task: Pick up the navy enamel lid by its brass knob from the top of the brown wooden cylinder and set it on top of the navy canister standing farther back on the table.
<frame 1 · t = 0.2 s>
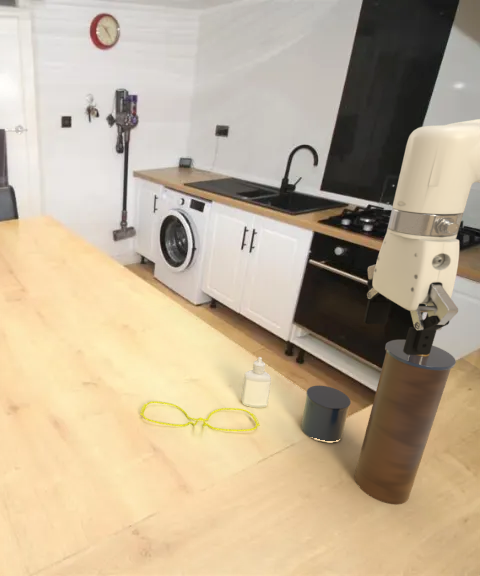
hand: (393, 337, 61), 30 cm above the table, tool pointing down, fingers open, 9 cm apart
glasses: (198, 423, 89), on the table
lid: (418, 355, 63), point 26 cm above the table, touching brown wooden cylinder
eye dropper bottle: (253, 404, 94), on the table
brown wooden cylinder: (380, 485, 72), on the table
canister: (321, 430, 85), on the table
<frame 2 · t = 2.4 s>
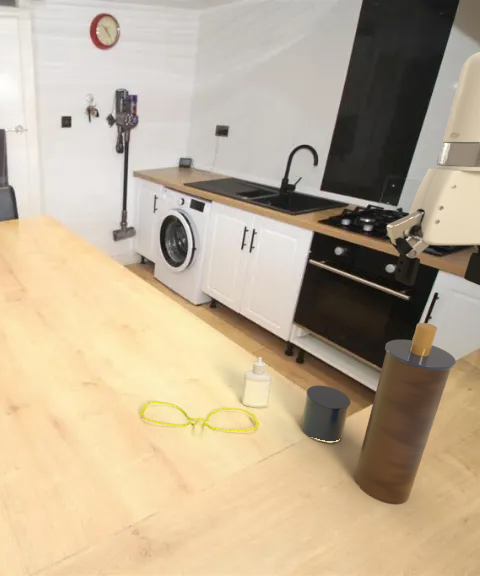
hand: (438, 282, 59), 38 cm above the table, tool pointing down, fingers open, 9 cm apart
nothing on the table moved.
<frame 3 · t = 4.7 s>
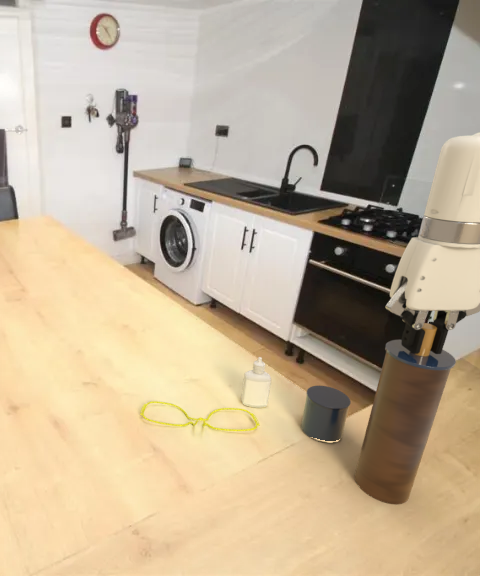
hand: (420, 348, 62), 27 cm above the table, tool pointing down, fingers closed on lid, 2 cm apart
lid: (418, 355, 63), point 26 cm above the table, touching gripper, brown wooden cylinder
everything else where it was.
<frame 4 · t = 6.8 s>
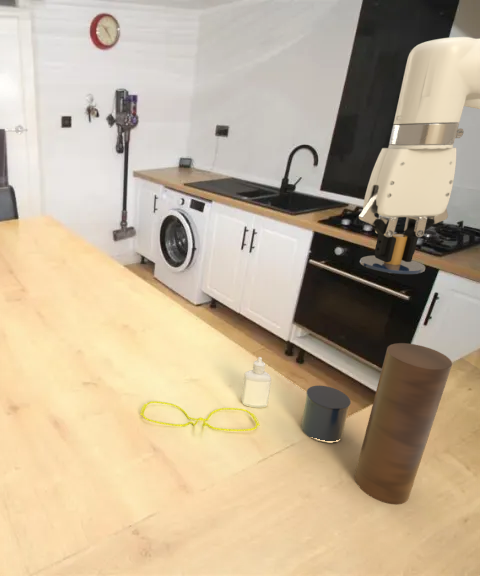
hand: (392, 258, 66), 39 cm above the table, tool pointing down, fingers closed on lid, 2 cm apart
lid: (391, 265, 66), point 38 cm above the table, touching gripper
everything else where it was.
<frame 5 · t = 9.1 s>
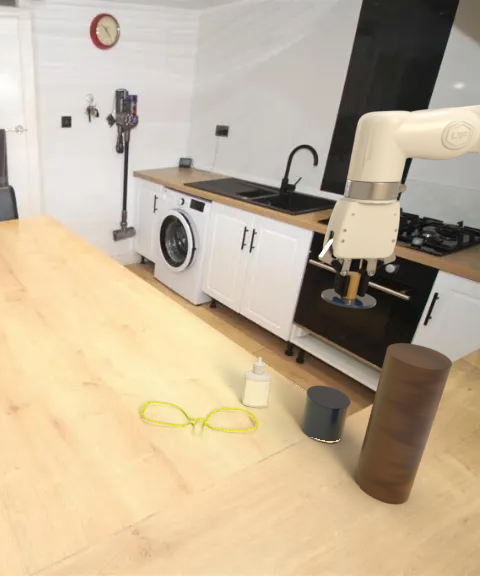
hand: (349, 293, 75), 31 cm above the table, tool pointing down, fingers closed on lid, 2 cm apart
lid: (347, 299, 75), point 30 cm above the table, touching gripper
everything else where it was.
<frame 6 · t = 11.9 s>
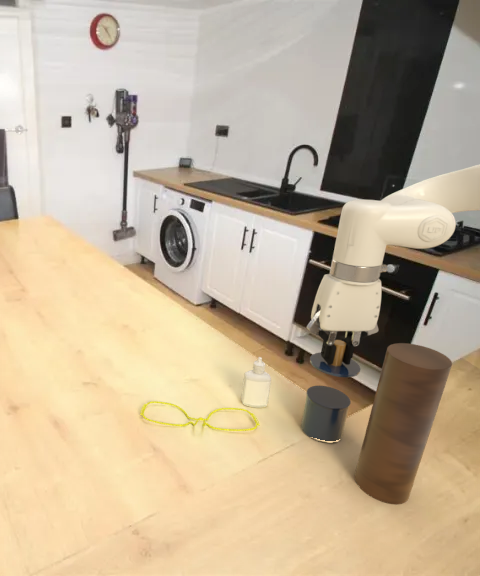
hand: (335, 360, 79), 17 cm above the table, tool pointing down, fingers closed on lid, 2 cm apart
lid: (334, 365, 80), point 16 cm above the table, touching gripper
everything else where it was.
when the fingers open (10 cm above the table, at t = 13.8 s): lid stays where it is, resting on canister.
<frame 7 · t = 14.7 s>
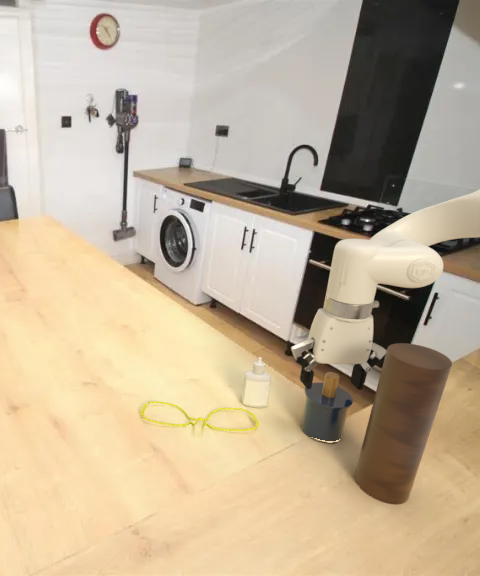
hand: (330, 385, 81), 11 cm above the table, tool pointing down, fingers open, 9 cm apart
lid: (328, 396, 82), point 8 cm above the table, touching canister
everything else where it was.
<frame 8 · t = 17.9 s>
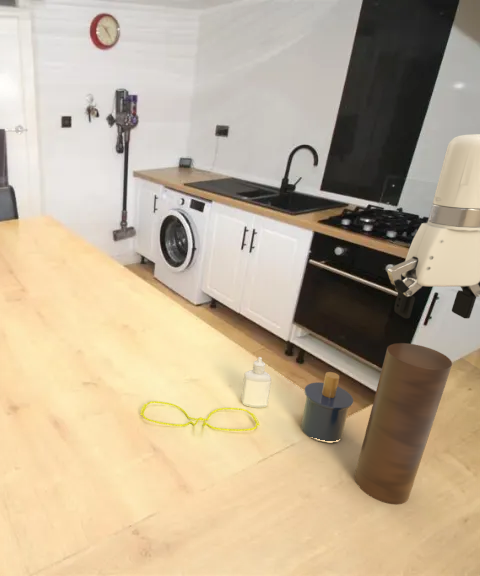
hand: (430, 315, 71), 28 cm above the table, tool pointing down, fingers open, 9 cm apart
nothing on the table moved.
at the end: lid 0.0 cm off-centre on the canister, point 8.5 cm above the canister's base; lid tilted 0° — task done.
